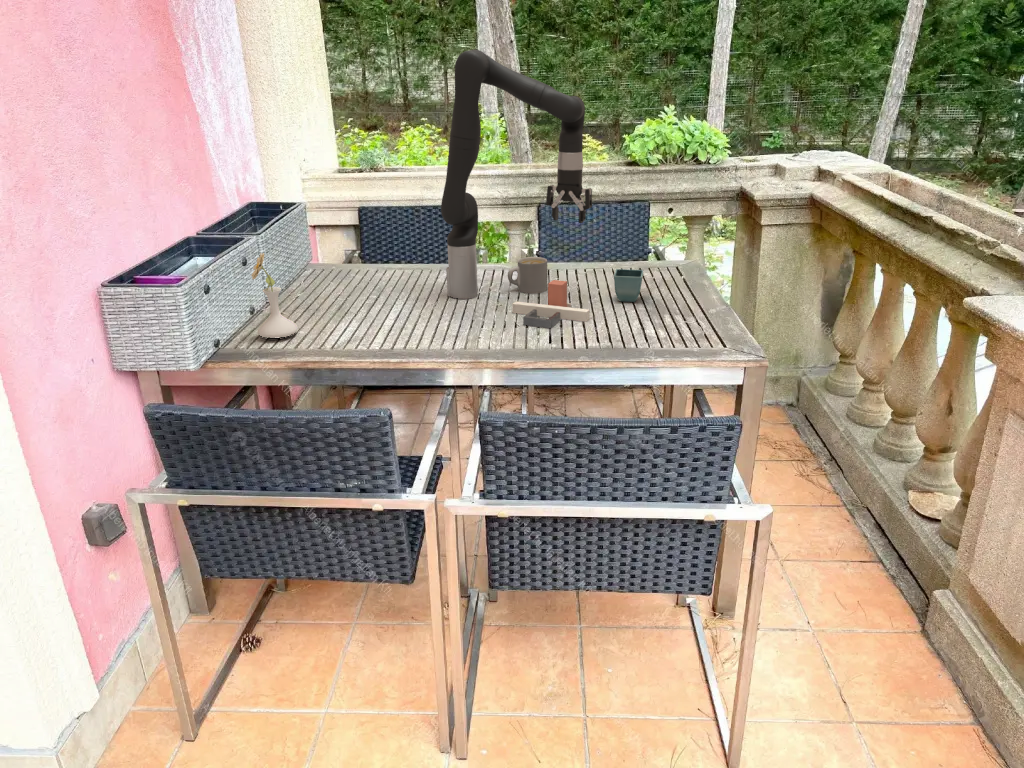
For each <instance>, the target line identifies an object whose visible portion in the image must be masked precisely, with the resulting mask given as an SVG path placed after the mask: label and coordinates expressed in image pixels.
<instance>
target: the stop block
mask: <svg viewBox="0 0 1024 768" xmlns="http://www.w3.org/2000/svg"><path fill="white" fill-rule="evenodd" d="M567 303H568V281H567V280H559V279H553V280H551V281H550V282H549V283H548V282H547V305H552V306H561V307H567Z"/></svg>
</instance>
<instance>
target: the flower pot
mask: <svg viewBox="0 0 1024 768" xmlns="http://www.w3.org/2000/svg"><path fill="white" fill-rule="evenodd" d="M643 274H644V270H643V269H626V268H625V269H623V268H617V269H615V271H614V274H613V281H614V283H613V284H614V292H615V295H616V298H617V300H618V301H619V302H624V303H626V302H627V303H628V302H629V303H630V302H631V303H635V302H636V301H637V299H638V298H639V296H640V293H641V288H642V284H643V283H642V282H643V278H644V275H643Z"/></svg>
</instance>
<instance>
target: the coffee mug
mask: <svg viewBox="0 0 1024 768" xmlns="http://www.w3.org/2000/svg"><path fill="white" fill-rule="evenodd" d="M514 272H516V274H517V277H516V279H513V277H512V276H513V273H514ZM507 280H508V282H509V283H510V284H511V285H514V286H516V287H517V291H518V292H520V293H522V292H523V294H534V295H535V294H542V293H544V292H546V291H547V292H548V259H547V258H544V257H538V256H529V257H527V256H526V257H522V258H521V257H520V258H518V259H517V266H513V267H510V268H509V269H508V272H507Z"/></svg>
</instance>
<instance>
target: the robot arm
mask: <svg viewBox="0 0 1024 768" xmlns="http://www.w3.org/2000/svg"><path fill="white" fill-rule="evenodd" d="M482 84H483V85H484V84H485V85H489V86H493V87H495V88H498V89H500V90H503V91H504V92H506V93H507V94H510V95H511V96H512V97H514V98H515V99H517V100H519V101H521V102H523V103H525V104H527V105H529V106H532V107H533V108H537V109H538V110H541V111H544V112H546V113H548V114H550V115H551V116H554V117H555V118H557V119H559V120H561V126H560V128H561V130H560V133H559V136H558V137H559V138H558V156H557V170H556V171H557V174H556V175H557V179H556V182H557V185H554V184H551V185H548V186H546V187H547V189H546V203H545V205H546V206H549V207H550V208H551V218H552V220H553V221H558V220H559V210H560V208H559V205H560V204H561V202H569V203H575V206H577V207H578V209H579V212H578V223H579V224H582V223H584V222H585V221H586V214H587V213H586V211H587V210H590V209H592V207H593V190H592V188H591V187H589V188H583V186H582V185H583V167H584V164H583V163H584V157H583V145H584V143H583V141H584V140H583V138H584V137H583V133H584V132H583V131H584V123H585V115H586V114H585V113H586V105H585V103H584V101H583V100H582V98H580V97H579V96H577V95H568V94H566V93H563V92H560V91H559V90H557V89H555V88H554V87H552V86H551V85H549V84H547V83H545V82H542V81H540V80H537V79H534V78H532V77H531V76H528V75H525V74H522V73H520V72H518V71H515V70H514V69H511V68H509V67H507V66H505V65H503V64H502V63H500V62H498V61H497V60H495V59H493V58H492V57H491V56H489V55H487V54H486V53H485V52H483V51H481V50H479V49H469V50H465V51H463V52H460V54H458V56H457V58H456V60H455V65H454V102H453V108H452V117H451V127H450V134H449V145H448V155H447V156H448V158H447V167H446V176H445V177H446V178H445V183H444V188H443V194H442V199H441V205H440V213H441V216H442V219H443V220H444V222H445V223H446V224H447V225H450V226H452V228H451V230H450V232H449V233H448V235H447V237H446V241H447V258H448V259H447V260H448V261H447V262H448V267H446V269H445V271H446V272H445V274H446V289H447V297H450V296H451V298H452V297H453V299H456V298H458V300H467V299H474V298H476V297H477V296H478V293H479V289H478V266H477V265H478V263H477V261H478V260H477V259H478V258H477V240H476V239H477V237H478V233H479V209H478V203H477V201H476V198H475V197H474V196H473V195H472V194H471V193H470V192H466V191H467V186H468V185H467V184H468V181H469V177H470V175H471V173H472V171H473V169H474V167H475V164H476V162H477V159H478V156H479V152H480V144H481V136H482V129H481V127H482V126H481V118H480V109H479V103H480V101H479V100H480V94H481V90H482V89H481V87H482ZM556 192H557V197H556V198H555V199H554V196H555V193H556ZM582 194H583V196H584V199H583V198H582V196H581V195H582ZM584 200H585V202H584Z"/></svg>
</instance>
